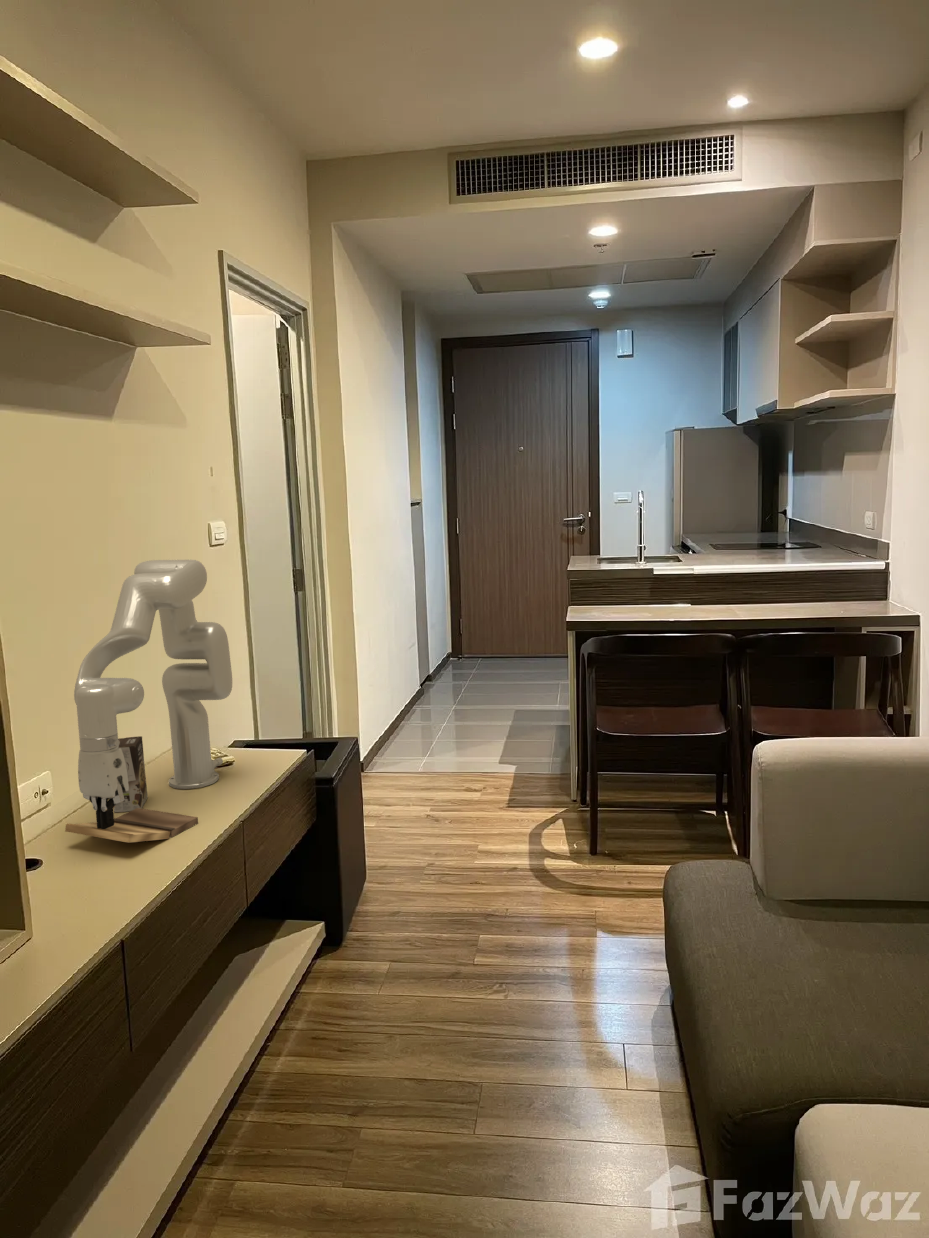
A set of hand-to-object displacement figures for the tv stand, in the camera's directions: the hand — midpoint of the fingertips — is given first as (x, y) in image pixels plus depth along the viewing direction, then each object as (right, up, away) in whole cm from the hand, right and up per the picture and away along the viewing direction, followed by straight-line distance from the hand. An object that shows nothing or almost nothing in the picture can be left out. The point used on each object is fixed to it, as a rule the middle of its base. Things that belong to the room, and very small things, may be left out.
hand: (105, 826), depth 187 cm
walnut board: (+6, -3, +13) cm, 15 cm away
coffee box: (-5, -1, +27) cm, 27 cm away
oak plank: (+1, -3, +3) cm, 4 cm away
